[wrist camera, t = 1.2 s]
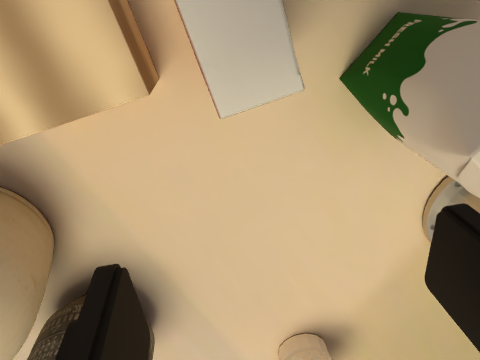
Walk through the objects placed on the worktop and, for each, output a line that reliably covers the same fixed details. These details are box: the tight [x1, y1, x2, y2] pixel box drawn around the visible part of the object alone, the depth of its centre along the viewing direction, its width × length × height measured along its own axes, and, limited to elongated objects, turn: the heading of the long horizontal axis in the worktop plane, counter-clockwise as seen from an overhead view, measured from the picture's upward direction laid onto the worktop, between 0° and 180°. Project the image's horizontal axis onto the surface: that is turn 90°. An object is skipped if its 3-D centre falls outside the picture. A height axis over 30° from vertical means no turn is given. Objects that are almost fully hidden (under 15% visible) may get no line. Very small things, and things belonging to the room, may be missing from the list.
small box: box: [174, 0, 305, 119], centre depth 23 cm, size 8×6×10 cm
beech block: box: [0, 0, 159, 145], centre depth 24 cm, size 12×12×6 cm
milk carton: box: [340, 12, 480, 198], centre depth 22 cm, size 9×9×20 cm
